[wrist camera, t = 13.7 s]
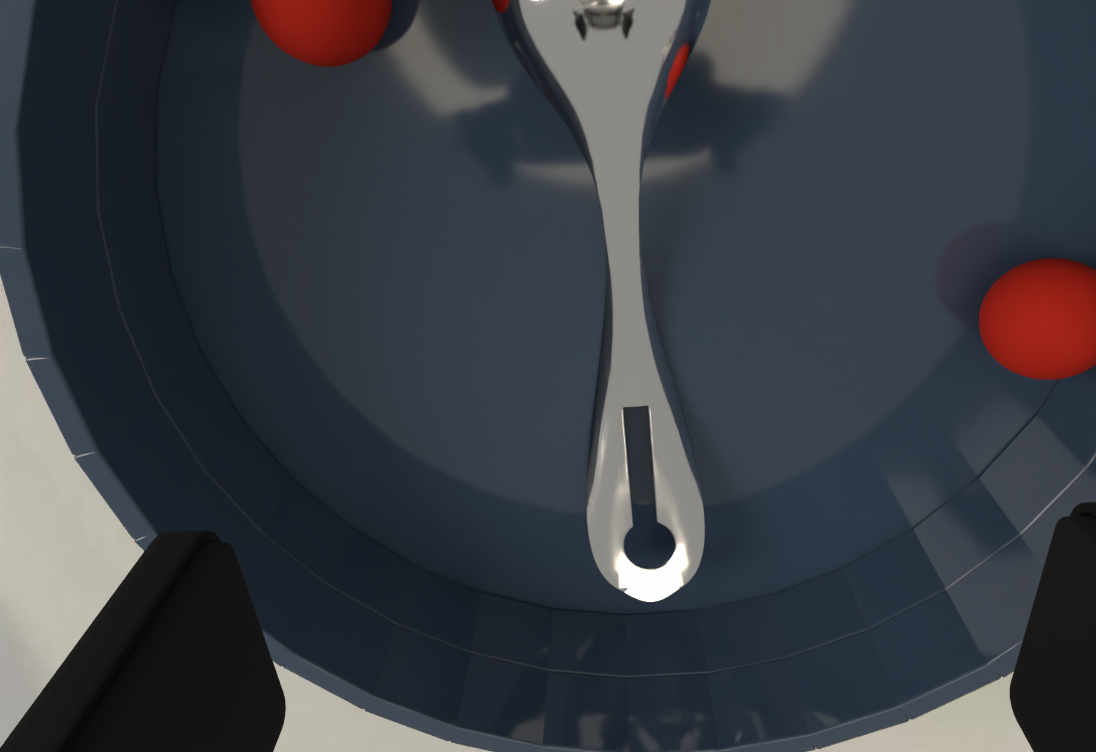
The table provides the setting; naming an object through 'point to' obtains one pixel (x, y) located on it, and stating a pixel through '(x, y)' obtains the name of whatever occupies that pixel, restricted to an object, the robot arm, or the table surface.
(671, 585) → the metal spoon
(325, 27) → the tomato
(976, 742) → the table surface
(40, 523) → the table surface
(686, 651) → the bowl
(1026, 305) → the tomato
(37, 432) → the table surface
